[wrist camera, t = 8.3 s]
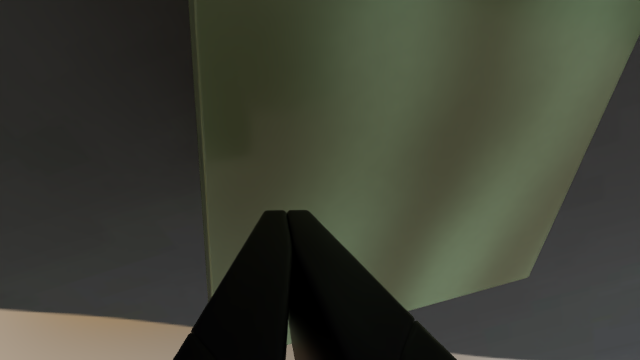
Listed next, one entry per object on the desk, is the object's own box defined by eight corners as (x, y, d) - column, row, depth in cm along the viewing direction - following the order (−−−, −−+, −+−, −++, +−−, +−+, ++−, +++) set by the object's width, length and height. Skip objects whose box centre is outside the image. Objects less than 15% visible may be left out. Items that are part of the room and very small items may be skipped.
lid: (210, 344, 13) (215, 366, 13) (176, -178, 7) (182, -187, 6) (514, 264, 18) (528, 277, 17) (667, -95, 11) (699, -94, 11)
